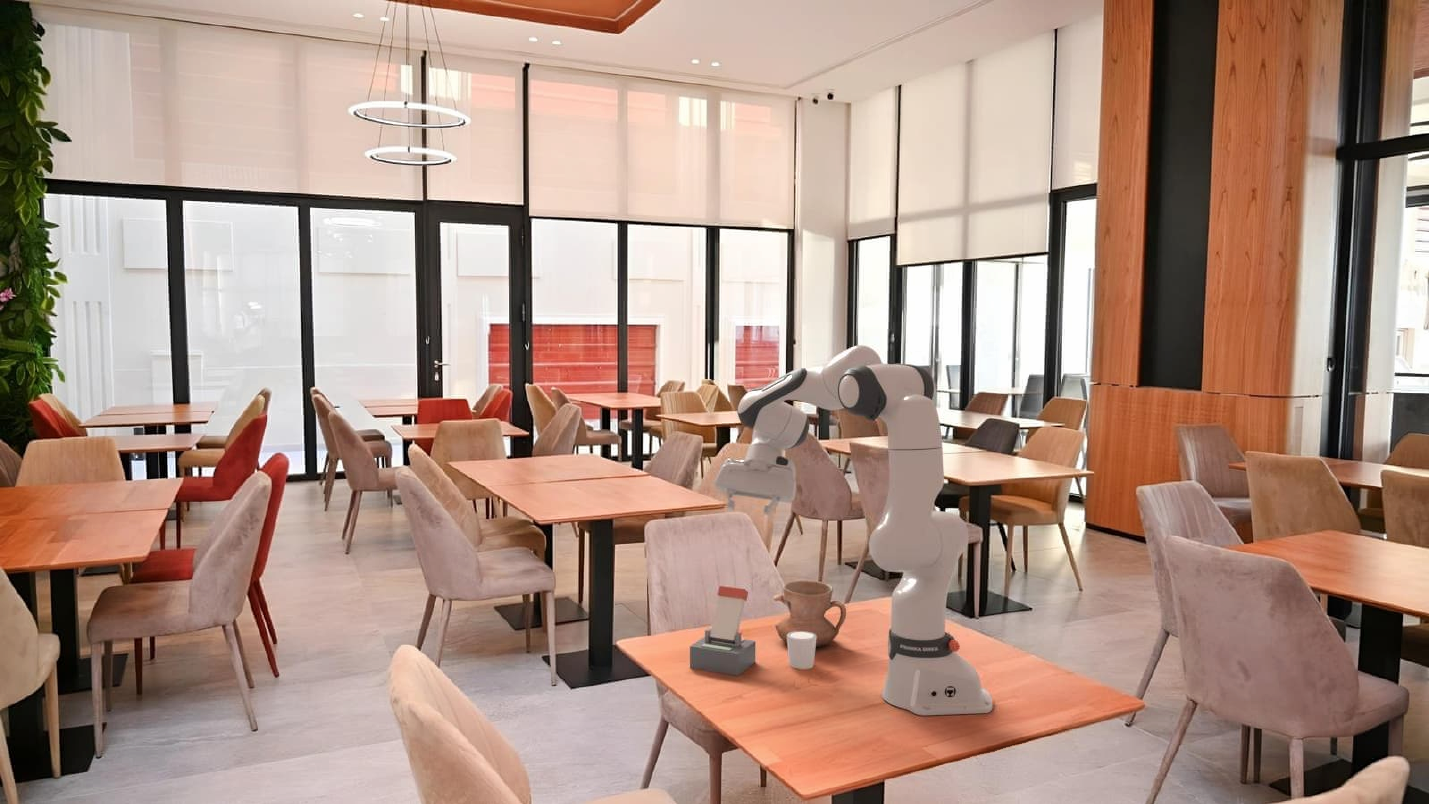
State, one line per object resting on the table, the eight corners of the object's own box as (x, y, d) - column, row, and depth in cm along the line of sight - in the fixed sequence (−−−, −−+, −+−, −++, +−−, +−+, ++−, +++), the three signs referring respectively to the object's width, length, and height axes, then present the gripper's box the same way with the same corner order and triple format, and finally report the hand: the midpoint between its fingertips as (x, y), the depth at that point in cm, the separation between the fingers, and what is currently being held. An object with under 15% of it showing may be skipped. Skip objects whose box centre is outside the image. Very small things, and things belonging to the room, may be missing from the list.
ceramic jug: (766, 648, 233) (767, 591, 232) (779, 629, 247) (780, 575, 246) (840, 657, 228) (842, 598, 227) (849, 637, 242) (851, 582, 241)
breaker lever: (711, 641, 223) (723, 589, 228) (737, 645, 220) (748, 592, 225) (707, 639, 221) (719, 585, 226) (733, 643, 218) (744, 589, 223)
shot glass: (816, 660, 225) (816, 631, 224) (816, 670, 218) (816, 640, 217) (786, 659, 225) (787, 630, 225) (786, 669, 219) (786, 639, 218)
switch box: (708, 654, 228) (708, 622, 228) (755, 662, 223) (755, 629, 223) (689, 667, 219) (690, 634, 219) (738, 675, 214) (738, 641, 214)
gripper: (720, 451, 243) (705, 498, 236) (798, 462, 237) (785, 510, 230) (725, 464, 248) (711, 511, 241) (802, 475, 242) (789, 523, 235)
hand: (748, 511), depth 235 cm, fingers open, 8 cm apart
